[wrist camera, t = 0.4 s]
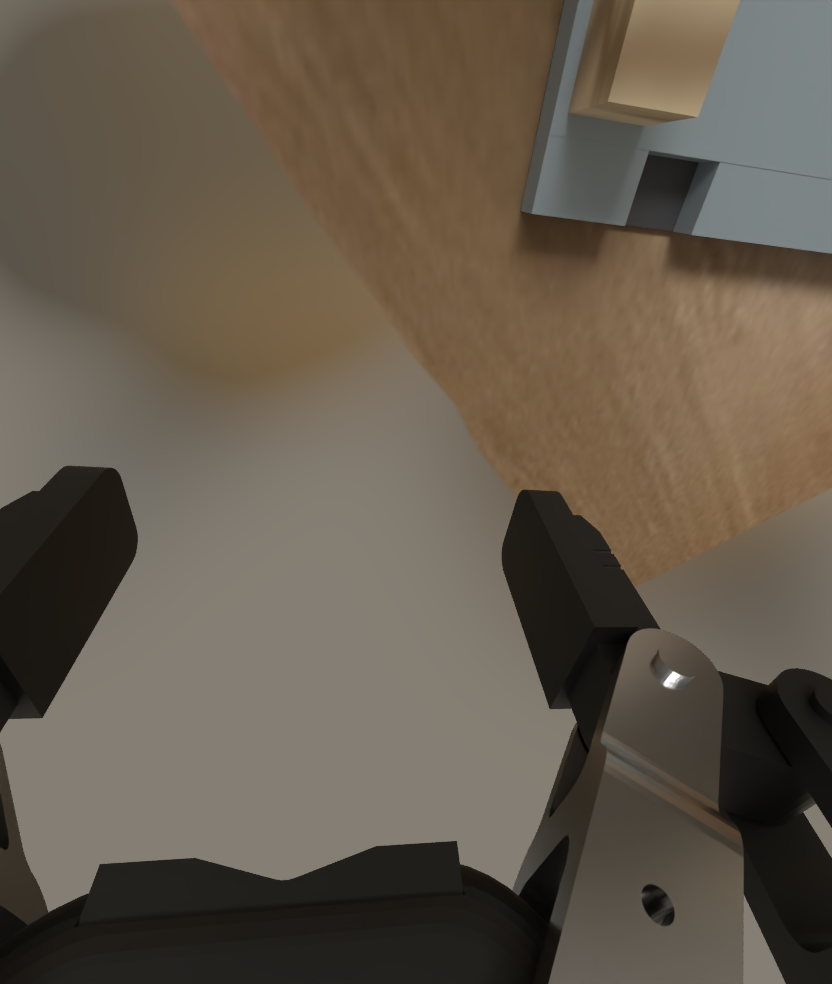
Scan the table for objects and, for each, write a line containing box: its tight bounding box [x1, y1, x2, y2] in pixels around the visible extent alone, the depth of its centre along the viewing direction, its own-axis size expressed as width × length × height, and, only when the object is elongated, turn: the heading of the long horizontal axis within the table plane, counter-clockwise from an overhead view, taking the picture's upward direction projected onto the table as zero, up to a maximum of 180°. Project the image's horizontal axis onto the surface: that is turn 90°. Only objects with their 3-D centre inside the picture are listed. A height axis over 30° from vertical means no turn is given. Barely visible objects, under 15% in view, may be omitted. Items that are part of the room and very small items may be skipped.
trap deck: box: [521, 0, 832, 254], centre depth 25 cm, size 14×28×5 cm, turn 83°
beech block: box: [568, 0, 740, 126], centre depth 22 cm, size 4×4×5 cm
